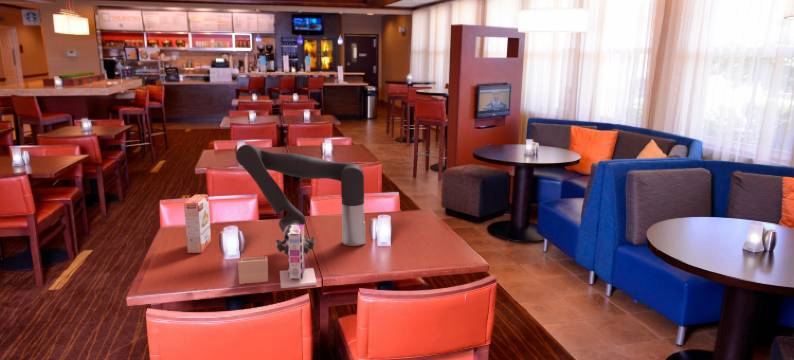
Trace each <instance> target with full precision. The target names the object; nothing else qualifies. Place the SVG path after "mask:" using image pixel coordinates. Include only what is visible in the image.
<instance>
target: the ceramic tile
mask: <svg viewBox="0 0 794 360" xmlns="http://www.w3.org/2000/svg"><path fill="white" fill-rule="evenodd" d="M279 276H280V277H279V279H280V289H289V288H297V287H299V288H301V287H311V286H317V285H318V283H317V278H316V275H315V270H314V268H313V267H311V268H310V267H308V268H305V269H304V274H303V279H300V280H289V269H285V270H279Z"/></svg>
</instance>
